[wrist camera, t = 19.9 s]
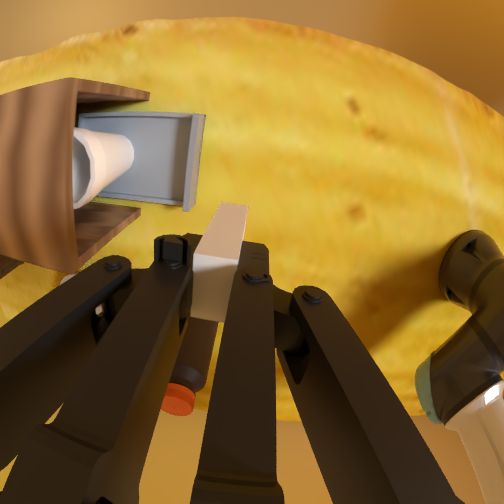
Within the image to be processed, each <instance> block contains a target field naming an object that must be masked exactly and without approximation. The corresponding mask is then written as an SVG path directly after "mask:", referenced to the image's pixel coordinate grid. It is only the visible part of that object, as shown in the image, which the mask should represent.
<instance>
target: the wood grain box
mask: <svg viewBox="0 0 504 504" xmlns="http://www.w3.org/2000/svg"><path fill="white" fill-rule="evenodd" d="M149 97H150V92H146V91H142V90H137V89H133V88H128V87H124V86H119V85H114V84H108V83H103V82H97V81H91V80H85V79H78V78H64V79H59V80H54V81H50V82H45V83H41V84H37V85H33V86H29V87H26V88H22V89H18V90H15V91H12V92H9V93H5V94H2V95H0V254H1V255H4V256H7V257H11V258H14V259H17V260H20V261H24V262H27V263H31V264H34V265H38V266H41V267H45V268H48V269H52V270H56V271H59V272H63V273H67V274H71V275H73V274H74V273H75V272H76V271H77V270H78V269H79V268H80V267H81V266H83V265H84V264H85V263H86V262H87V261H88V260H89V259H90V258H91V257H92V256H93V255H95V254H96V253H97V252H98V251H99V250H100V249H101V248H102V247H103V246H105V245H106V244H107V243H108V242H109V241H110V240H111V239H113V238H114V237H115V236H116V235H117V234H118V233H120V232H121V231H122V230H123V229H124V228H126V227H127V226H128V225H129V224H130V223H132V222H133V221H134V220H135V219H137V218H138V217H139V216H140V214H141V208H137V207H129V206H120V205H112V204H104V203H95V202H89V203H87V204H85V205H83V206H82V207H80V208H77V209H74V208H73V181H72V161H73V135H74V127H75V123H76V112H77V104H80V103H91V102H105V101H129V100H149Z"/></svg>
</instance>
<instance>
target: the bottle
mask: <svg viewBox="0 0 504 504" xmlns="http://www.w3.org/2000/svg"><path fill="white" fill-rule="evenodd" d="M190 315H191V308H190V311H189V313H188V326H187V329H186V332H185V335H184V338H183V341H182V343H181V346H180V349H179V352H178V355H177V359H176V362H175V365H174V368H173V371H172V374H171V377H170V380H169V383H168V386H167V390H166V393H165V396H164V399H163V402H162V406H161V409H162V410H163V411H165V412H167V413H169V414H173V415H177V416H186V415H189V414H191V412H192V411H193V407H194V402H195V396H196V395H195V392H198V391H199V390H201V389H202V388H203V387H204V385H205V383H206V380H207V375H208V370H209V365H210V360H211V355H212V351H213V346H214V341H215V337H216V332H217V327H218V323H219V322H218V321H212V320H206V319H200V318H195V317H190Z"/></svg>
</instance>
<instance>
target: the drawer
mask: <svg viewBox="0 0 504 504" xmlns="http://www.w3.org/2000/svg"><path fill="white" fill-rule="evenodd" d="M205 117H206V115H203V114H194V113H193V114H189V113H172V112H99V113H83V114H79V122H78V128H83V129H88V130H91V131H99V132H107V133H114V134H119V135H124V136H125V137H126V138H127V139H129V140H130V141H131V144H132V146H133V149H134V160H133V162H132V164H131V166H130V168H129V169H128V170H127V171H126V172H125V173H123V174H122V175H121V176H120V177H118V178H117V179H116V180H114V181H113V182H112V183H110V184H109V185H108V186H107V187H105V188H104V189H103V190H101V191H100V192H99V193H98V194H97V195H96V196H101V197H111V198H120V199H129V200H137V201H145V202H154V203H161V204H169V205H177V206H183V211H187V212H189V211H190V209H191V208H192V207H193V206H194V205H195V201H196V191H197V181H198V172H199V163H200V155H201V147H202V139H203V132H204V124H205Z"/></svg>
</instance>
